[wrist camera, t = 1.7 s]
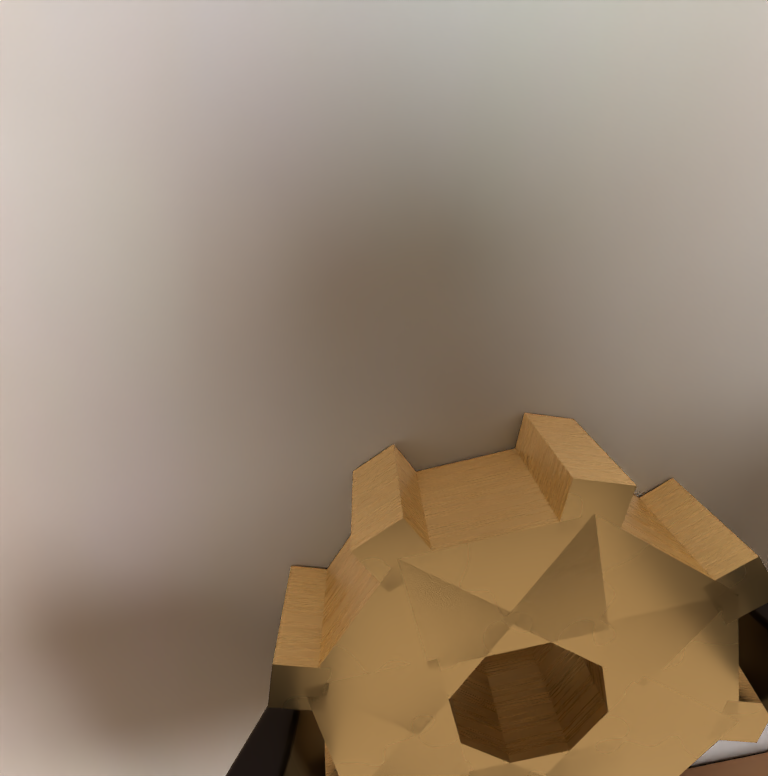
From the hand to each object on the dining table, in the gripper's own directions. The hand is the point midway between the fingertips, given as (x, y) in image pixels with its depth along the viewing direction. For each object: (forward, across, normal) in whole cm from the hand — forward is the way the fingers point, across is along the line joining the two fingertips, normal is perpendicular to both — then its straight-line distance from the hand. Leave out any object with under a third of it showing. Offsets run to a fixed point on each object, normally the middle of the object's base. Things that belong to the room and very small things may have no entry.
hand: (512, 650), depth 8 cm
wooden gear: (+1, 0, 0) cm, 1 cm away
